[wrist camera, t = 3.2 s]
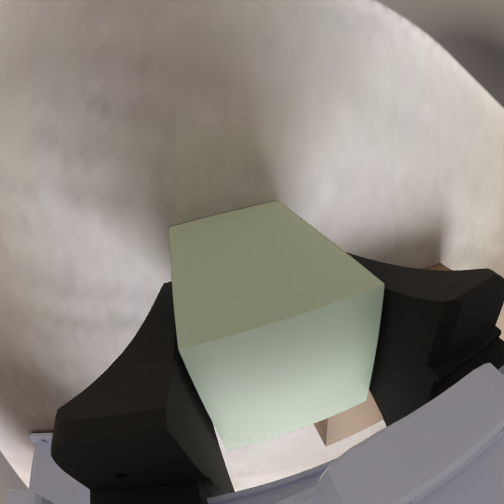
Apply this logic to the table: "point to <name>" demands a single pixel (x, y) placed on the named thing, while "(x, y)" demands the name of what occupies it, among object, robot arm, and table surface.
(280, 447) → the table surface
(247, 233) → the sage block
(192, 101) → the table surface
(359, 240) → the table surface
